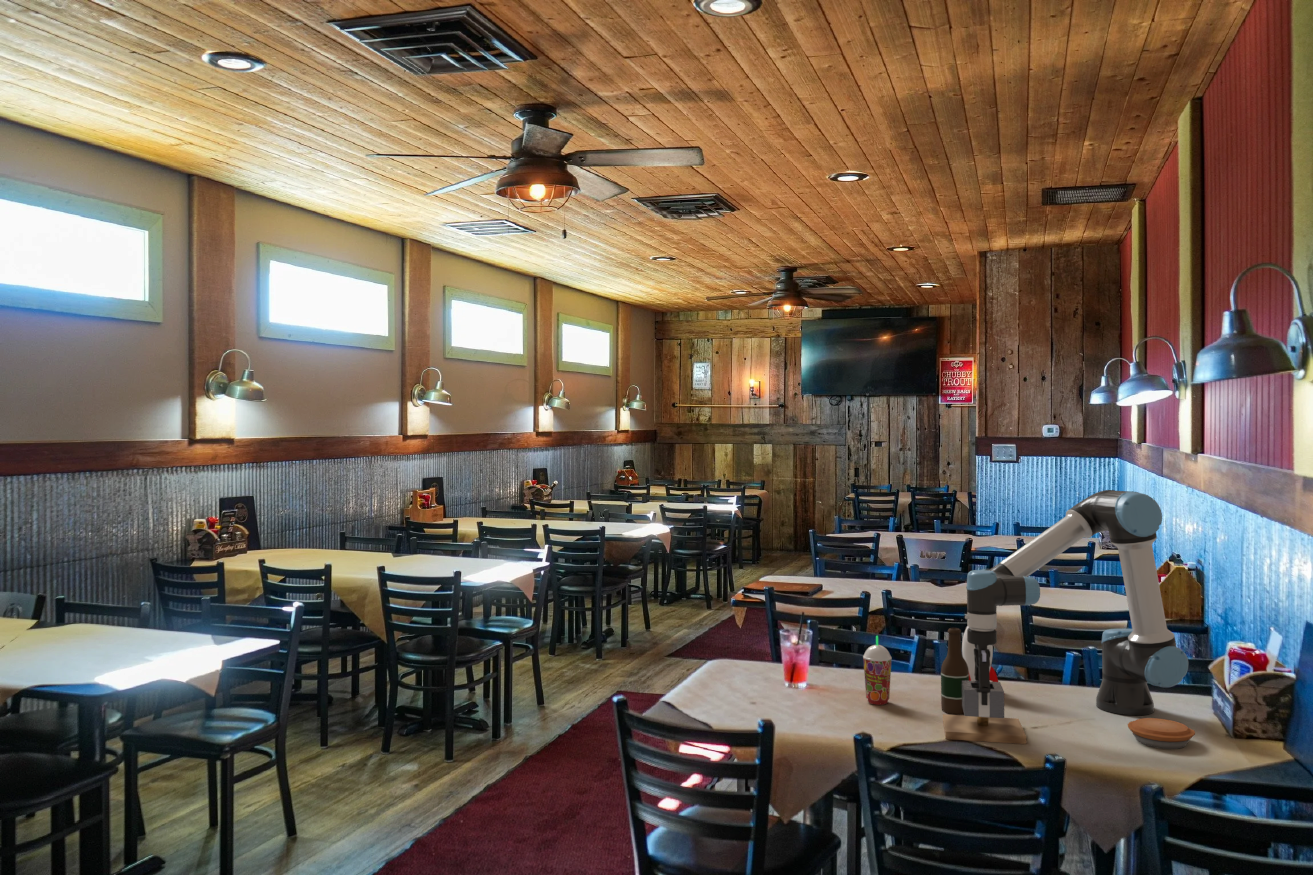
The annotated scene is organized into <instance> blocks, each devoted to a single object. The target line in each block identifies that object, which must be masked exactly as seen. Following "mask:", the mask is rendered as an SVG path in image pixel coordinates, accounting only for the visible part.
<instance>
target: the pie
mask: <svg viewBox="0 0 1313 875" xmlns="http://www.w3.org/2000/svg"><path fill="white" fill-rule="evenodd" d="M1127 727H1128V729H1129V730H1130V732H1131V733H1132V735H1133V737H1134V738H1135V740H1136V741H1137V742H1138V743H1140V744H1142V745H1143V746H1144V745H1145V746H1148V747H1151V748H1156V749H1163V750H1164V749H1165V750H1178V749H1182V748H1184V747H1186V746H1187V744H1188V743H1189V741H1190V740H1191V739H1192V738H1193V737H1194V736H1195V735H1196V731H1195V730H1194V729H1192V728H1189V727H1188V726H1187V725H1186V724H1183V723H1182V722H1178V721H1174V720H1170V719H1167V718H1166V719H1164V718H1155V717H1144V718H1137V719H1135V720H1133V721H1129V722H1128V723H1127Z"/></svg>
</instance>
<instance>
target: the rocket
mask: <svg viewBox="0 0 1313 875" xmlns="http://www.w3.org/2000/svg"><path fill="white" fill-rule="evenodd" d="M968 628H970V627H968V626H966V627H965V630H964V634H963V636H962V641H961V642H962V643H961V652H962V657H963V658H964V660H965V661H966V663H967V666H968V670H969V681H976V680H975V675H974V674H975V660H974V656H975V655H974V649H975V644H971V643H969V642H968V641H967V629H968ZM987 649H989V651H990V667H989V674H990V682H999V679H998V675H997V673H996V671H995V668H994V667H993V666H992V662H993V655H994V654H993V653H994V645H988V646H987Z"/></svg>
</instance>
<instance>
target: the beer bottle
mask: <svg viewBox="0 0 1313 875" xmlns="http://www.w3.org/2000/svg"><path fill="white" fill-rule="evenodd" d="M947 633H948V640H947V641H948V642H947V654H946V657H945V658H944V660H943V661H942V664H941V668H940V698H941V699H940V701H941V703H940V704H941V711H942V712H944V714H945V713H946V715H964V712H963V708H962V680H966V681H969V670H968V666H967V663H966V661H965V660H964V658H963V654H962V643H961V642H962V641H961V633H962V630H961V629H960V628H959V627H950V628H948V630H947Z"/></svg>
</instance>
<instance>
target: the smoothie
mask: <svg viewBox="0 0 1313 875" xmlns="http://www.w3.org/2000/svg"><path fill="white" fill-rule="evenodd" d="M862 658H863V661H862V662H863V672H864V673H863V674H864V687H865V698H866V699H867V702H868V703H870V704H872V705H875V706H877V705H878V706H882V705H886V704H888V702H889V699H890V696H891V695H890V694H891V693H890V690H891V671H892V656H891V654H890V652H889V651H888V649H887V648H886V647H884V646H883V645H881V644H879V635H876V636H875V644H873V645H871V646H869V647H868V648H866V650H865V652H864V654H863V655H862Z"/></svg>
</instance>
